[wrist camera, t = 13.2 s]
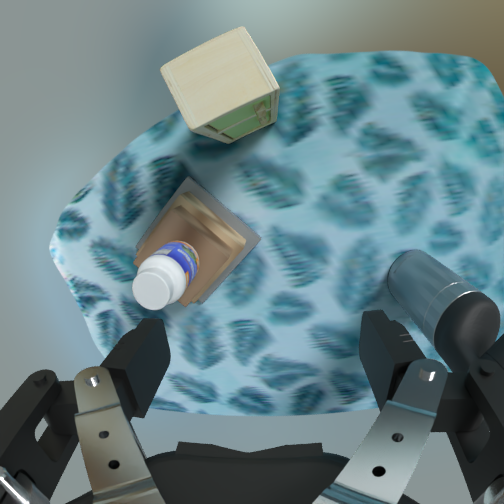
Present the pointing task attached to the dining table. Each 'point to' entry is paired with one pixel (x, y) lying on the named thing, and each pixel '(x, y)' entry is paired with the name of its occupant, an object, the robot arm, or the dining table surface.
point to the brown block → (195, 241)
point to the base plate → (220, 211)
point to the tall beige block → (224, 87)
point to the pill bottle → (165, 275)
